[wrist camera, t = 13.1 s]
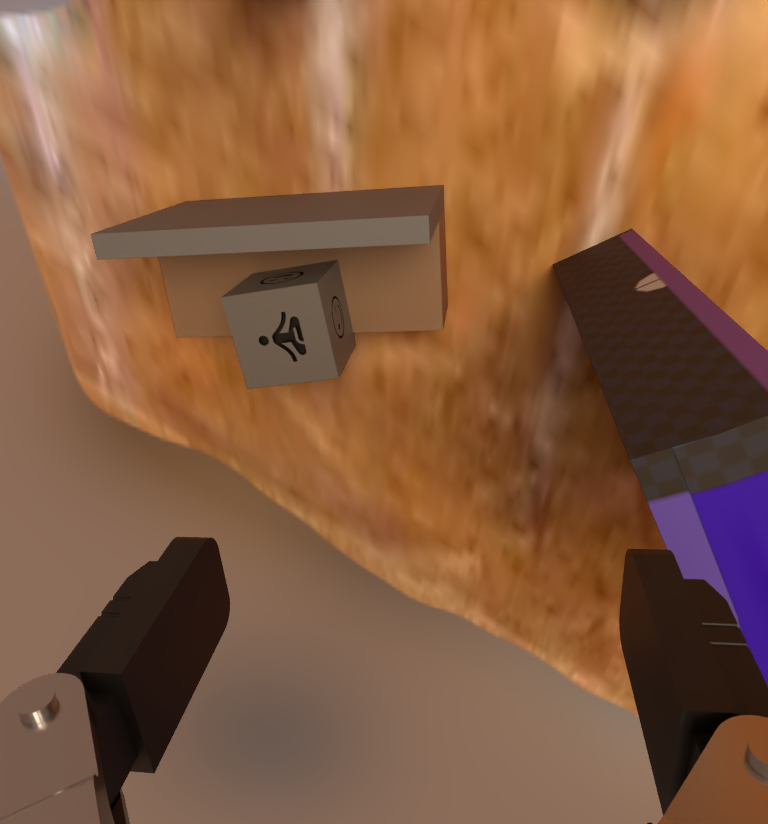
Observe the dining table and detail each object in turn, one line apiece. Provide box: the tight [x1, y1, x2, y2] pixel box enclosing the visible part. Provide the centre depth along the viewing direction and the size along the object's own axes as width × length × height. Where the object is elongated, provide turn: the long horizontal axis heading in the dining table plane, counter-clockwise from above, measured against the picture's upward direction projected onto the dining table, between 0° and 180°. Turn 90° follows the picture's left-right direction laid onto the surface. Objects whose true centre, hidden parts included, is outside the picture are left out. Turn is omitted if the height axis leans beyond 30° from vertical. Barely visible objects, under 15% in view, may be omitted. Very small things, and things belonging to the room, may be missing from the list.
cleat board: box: [91, 185, 448, 338], centre depth 36 cm, size 16×7×11 cm, turn 95°
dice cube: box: [221, 260, 356, 389], centre depth 35 cm, size 5×5×5 cm
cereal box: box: [553, 229, 768, 686], centre depth 31 cm, size 17×5×24 cm, turn 28°
